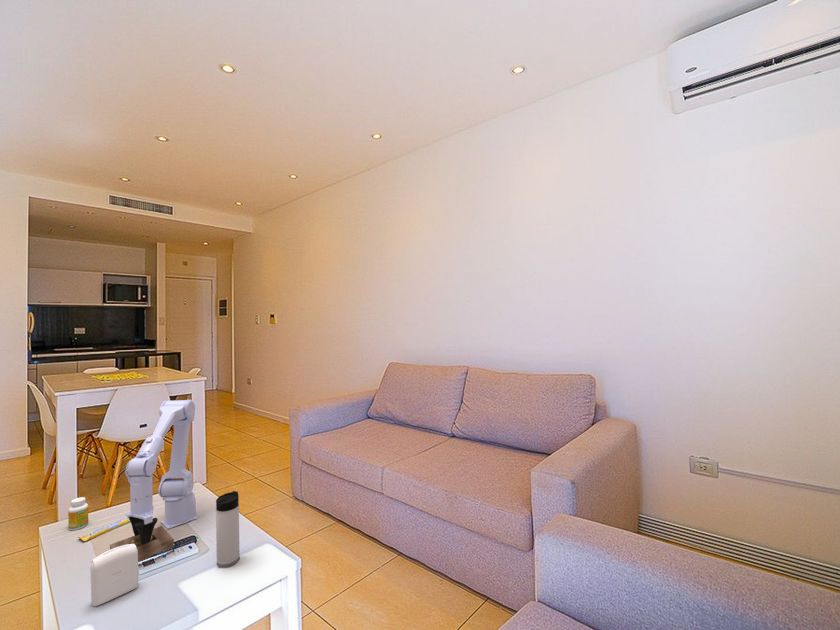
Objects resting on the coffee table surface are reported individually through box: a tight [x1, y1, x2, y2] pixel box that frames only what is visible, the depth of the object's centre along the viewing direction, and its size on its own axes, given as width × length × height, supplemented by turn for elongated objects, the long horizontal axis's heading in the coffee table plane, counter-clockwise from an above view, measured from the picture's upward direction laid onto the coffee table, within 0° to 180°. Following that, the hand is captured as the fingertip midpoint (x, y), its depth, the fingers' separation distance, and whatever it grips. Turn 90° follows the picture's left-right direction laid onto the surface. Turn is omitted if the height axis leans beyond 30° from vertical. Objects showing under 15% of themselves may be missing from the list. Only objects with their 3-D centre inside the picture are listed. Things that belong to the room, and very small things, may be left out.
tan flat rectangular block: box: [131, 536, 152, 547], centre depth 123 cm, size 5×2×5 cm, turn 138°
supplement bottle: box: [68, 496, 89, 531], centre depth 141 cm, size 5×5×10 cm
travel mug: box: [215, 490, 241, 569], centre depth 119 cm, size 6×7×20 cm
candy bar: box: [77, 517, 131, 542], centre depth 139 cm, size 17×4×2 cm, turn 154°
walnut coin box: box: [109, 525, 175, 562], centre depth 124 cm, size 14×12×4 cm
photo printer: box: [90, 544, 140, 607], centre depth 105 cm, size 10×4×12 cm, turn 140°
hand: (142, 538), depth 124 cm, fingers open, 7 cm apart
